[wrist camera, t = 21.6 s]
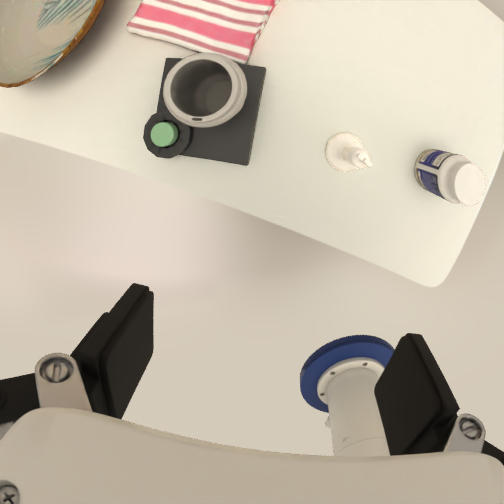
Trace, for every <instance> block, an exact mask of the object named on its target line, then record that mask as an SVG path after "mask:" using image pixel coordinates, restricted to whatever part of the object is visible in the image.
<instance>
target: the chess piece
mask: <svg viewBox="0 0 504 504" xmlns="http://www.w3.org/2000/svg"><path fill="white" fill-rule="evenodd" d="M325 154H326V158H327V160H328V162H329V164H330V165H331V166H332V167H333V168H335V169H336V170H339V171H343V172H349V171H353V170H355V169H357V168H359V169H364V168H366V167H370V168H371V167H372V165H373V164H372V163H371V156H370V154H369V153H368V152H367V151H366V150H364V147H363V144H362V142H361V141H360V140H359V139H358V138H357V137H356V136H354V135H353V134H350V133H345V132H343V133H338V134H336V135H334V136H333V137H331V138H330V140H329V141H328V143H327V145H326V149H325Z"/></svg>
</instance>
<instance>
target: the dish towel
mask: <svg viewBox="0 0 504 504" xmlns="http://www.w3.org/2000/svg"><path fill="white" fill-rule="evenodd" d="M279 1H280V0H142V1H141V4H140V6H139V8H138V10H137V12H136V14H135V15H134V16H133V17H132V18H131V19H130V20H129V22H128V24H127V31H128V32H132V33H136V34H139V35H142V36H147V37H151V38H156V39H160V40H164V41H167V42H171V43H174V44H177V45H180V46H183V47H186V48H188V49H191V50H195V51H198V52H201V53H217V54H221V55H224V56H226V57H228V58H230V59H231V60H233V61H234V62H236V63H239V64H244V65H245V63H246V62H247V60H248V57H249V56H250V54H251V51H252V48H253V45H254V43H255V42H256V41H257V40H258V38H259V36H260V34H261V32H262V31H263V29H264V27H265V24H266V23H267V21H268V19H269V16H270V14H271V12H272V10H273V8H274V7H275V5H277V3H278V2H279Z"/></svg>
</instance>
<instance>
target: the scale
mask: <svg viewBox="0 0 504 504" xmlns="http://www.w3.org/2000/svg"><path fill="white" fill-rule="evenodd" d="M181 60H183V59H180V58H166V62H165V67H164V72H163V77H162V83H161V89H160V95H159V101H158V107H157V113H156V114H154V115H152V116H151V118H150V119H149V120H148V122H147V123H146V125H145V128H144V136H143V138H144V141H145V144H146V146H147V149H148V150H149V151H150V152H152V153H153V154H154V155H155V156H157V157H162V158H172V157H174V156H177V155H183V156H191V157H197V158H204V159H211V160H217V161H223V162H229V163H235V164H241V165H246V166H247V165H248V164H249V159H250V153H251V148H252V142H253V137H254V131H255V126H256V121H257V115H258V110H259V105H260V99H261V94H262V89H263V84H264V79H265V73H266V68H264V67H258V66H251V65H244V64H237V63H236V64H237V65H238V66H239V67H240V68H241V70H242V71H243V73H244V75H245V78H246V81H247V95H246V99H245V101H244V105H243V107H242V109H241V110H240V111H239V112H238V113H237V114H236V115H234V116H233V117H232V118H231V119H229V120H228V121H226V122H224V123H222V124H220V125H217V126H213V127H204V128H202V127H193V126H190V125H187V124H184V123H182V122H181V121H179V120H178V119H176V118H175V117H174V116H173V115H172V114H171V112H170V111H169V110H168V108H167V106H166V104H165V101H164V96H163V87H164V83H165V80H166V77H167V75H168V73H169V72H170V70H171V69H172V68H173V67H174V66H175V65H176V64H177V63H178V62H180V61H181ZM161 122H170V123H173V124H174V125H175V126H176V127H177V129H178V138H177V140H176V141H175V142H174V143H173V144H171V145H168V146H164V147H160V146H157V145H155V144H154V143H153V141H152V139H151V131H152V129H153V127H154V126H155V125H156V124H158V123H161Z"/></svg>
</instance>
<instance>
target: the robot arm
mask: <svg viewBox="0 0 504 504" xmlns="http://www.w3.org/2000/svg"><path fill="white" fill-rule="evenodd" d="M153 300H154V294H153V292H151V291H149V287H148V286H144V285H140V284H136V283H133V284H132V285H131V286H130V287H129V289H128V290H127V291H126V292H125V293H124V295H123V296H122V297H121V298H120V300H119V301H118V302H117V303H116V304H115V306H114V307H113V308H112V309H111V311H110V312H109V313H108V312H106V313H104V314H103V315H102V316H101V317H100V318H99V319H98V320H97V322H96V323H95V324H94V326H93V327H92V328H91V329H90V330H89V332H88V333H87V334H86V336H85V337H84V338H83V339H82V341H81V342H80V343H79V345H78V346H77V347H76V348H75V350H74V351H73V352H72V354H71V355H70V356H69V355H67V354H63V353H52V354H48V355H46V356H44V357H42V358H41V359H40V360H39V361H38V362H37V364H36V366H35V373H32V374H27V375H22V376H18V377H13V378H8V379H3V380H0V504H504V452H503V451H501V450H499V449H498V448H496V447H494V446H493V445H491V444H490V443H488V442H487V441H485V440H484V439H485V428H484V426H483V424H482V422H481V421H480V420H479V419H478V418H476V417H475V416H473V415H471V414H461V415H460V416H457V411H458V410H459V409H460V408H459V406H458V404H457V402H456V400H455V398H454V396H453V394H452V391H451V389H450V387H449V385H448V383H447V381H446V379H445V378H444V376H443V374H442V372H441V370H440V368H439V366H438V364H437V362H436V360H435V358H434V356H433V355H432V353H431V351H430V349H429V347H428V345H427V344H426V342H425V340H424V338H423V337H422V335H420V334H412V333H407V334H406V335H405V336H403V337H402V338H401V339H400V341H399V343H398V345H397V347H396V349H395V350H394V352H393V354H392V356H391V358H390V360H389V362H388V364H387V365H386V367H385V368H384V366H383V365H382V364H381V363H380V362H379V361H377V360H375V359H372V358H367V357H355V358H349V359H346V360H342V361H340V362H338V363H336V364H334V365H332V366H331V367H329V368H328V369H327V370H326V371H325V372H324V373H323V374H322V375H321V377H320V378H319V380H318V383H317V392H318V396H319V398H320V399H321V401H322V402H324V403H325V404H327V405H328V409H329V417H328V419H327V420H326V422H325V425H326V426H327V427H329V428H331V434H332V443H333V452H334V456H317V455H300V454H289V453H279V452H270V451H262V450H254V449H247V448H240V447H235V446H228V445H222V444H217V443H212V442H207V441H202V440H198V439H193V438H188V437H185V436H180V435H176V434H172V433H168V432H164V431H160V430H156V429H152V428H149V427H145V426H142V425H138V424H135V423H131V422H128V421H124V420H121V419H122V417H123V415H124V412H125V410H126V408H127V406H128V404H129V402H130V400H131V398H132V395H133V393H134V392H135V389H136V387H137V385H138V383H139V381H140V379H141V377H142V375H143V373H144V371H145V369H146V367H147V365H148V363H149V361H150V359H151V357H152V353H153Z"/></svg>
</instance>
